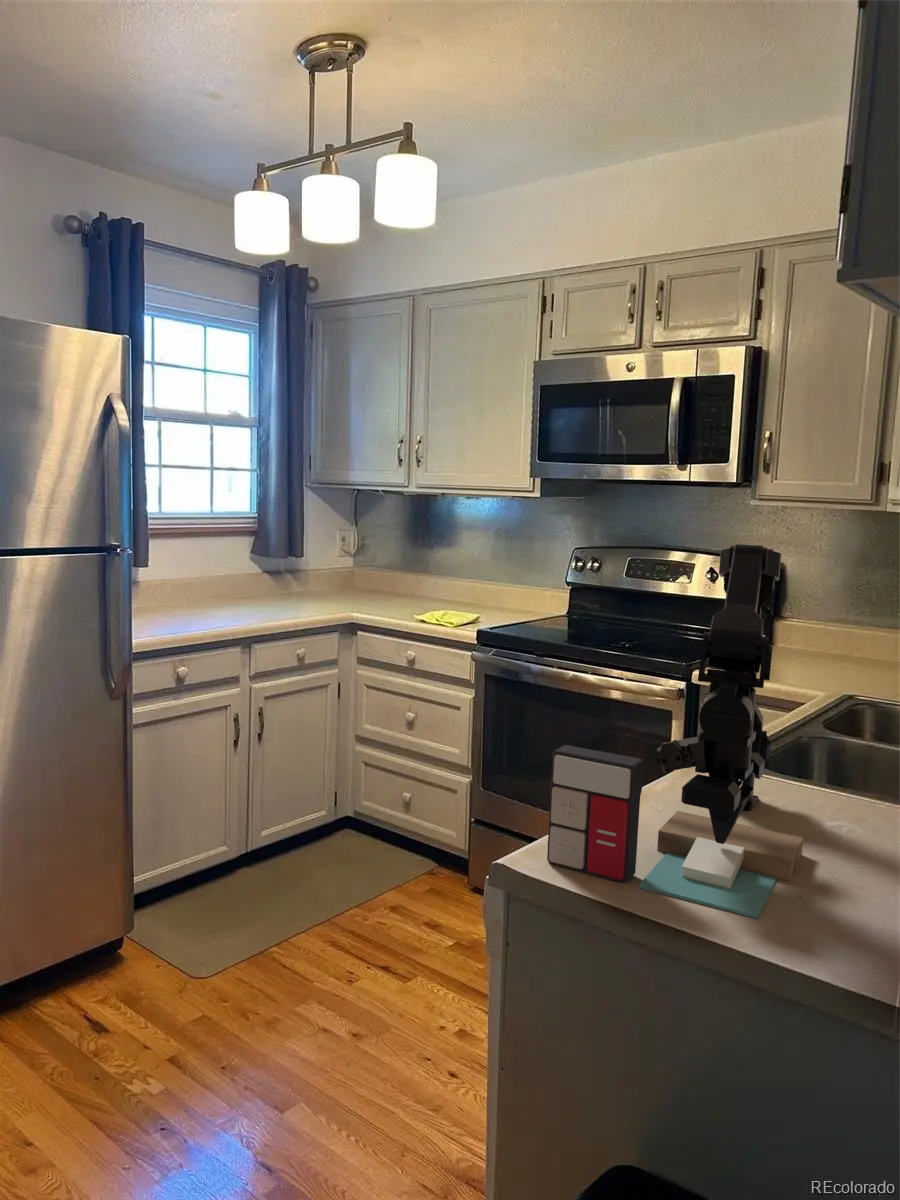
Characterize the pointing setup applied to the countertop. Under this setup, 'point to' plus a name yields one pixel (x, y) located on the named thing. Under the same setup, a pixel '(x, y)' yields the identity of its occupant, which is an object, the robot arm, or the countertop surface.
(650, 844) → the countertop surface
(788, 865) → the wooden board
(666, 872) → the mat
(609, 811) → the calculator
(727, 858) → the tile
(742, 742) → the robot arm
